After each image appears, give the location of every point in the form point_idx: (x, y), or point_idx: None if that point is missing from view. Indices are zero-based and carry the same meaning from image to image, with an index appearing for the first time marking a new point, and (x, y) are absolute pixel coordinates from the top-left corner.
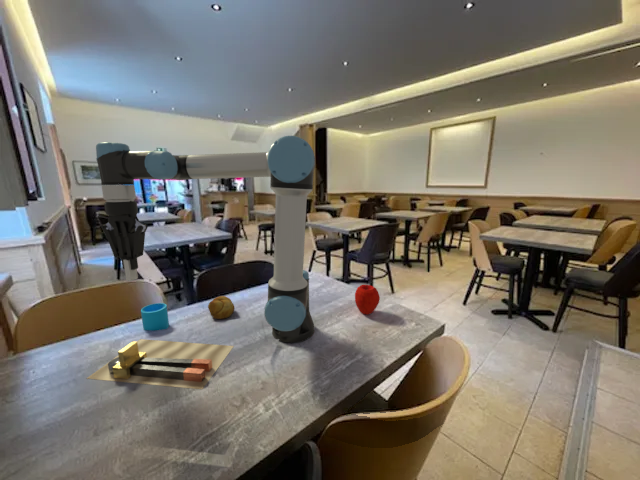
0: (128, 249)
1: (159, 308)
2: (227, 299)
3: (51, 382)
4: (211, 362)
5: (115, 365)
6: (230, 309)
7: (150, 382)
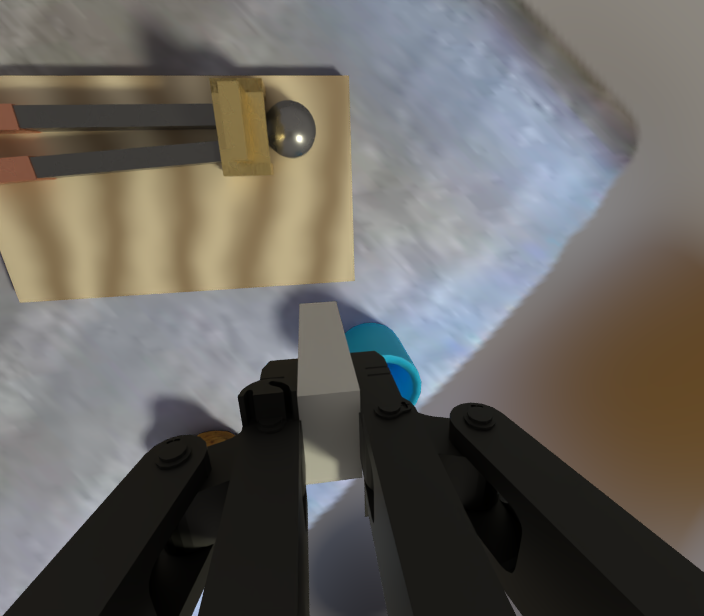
0: (258, 531)
1: None
2: None
3: (450, 69)
4: None
5: (260, 90)
6: None
7: (135, 85)
